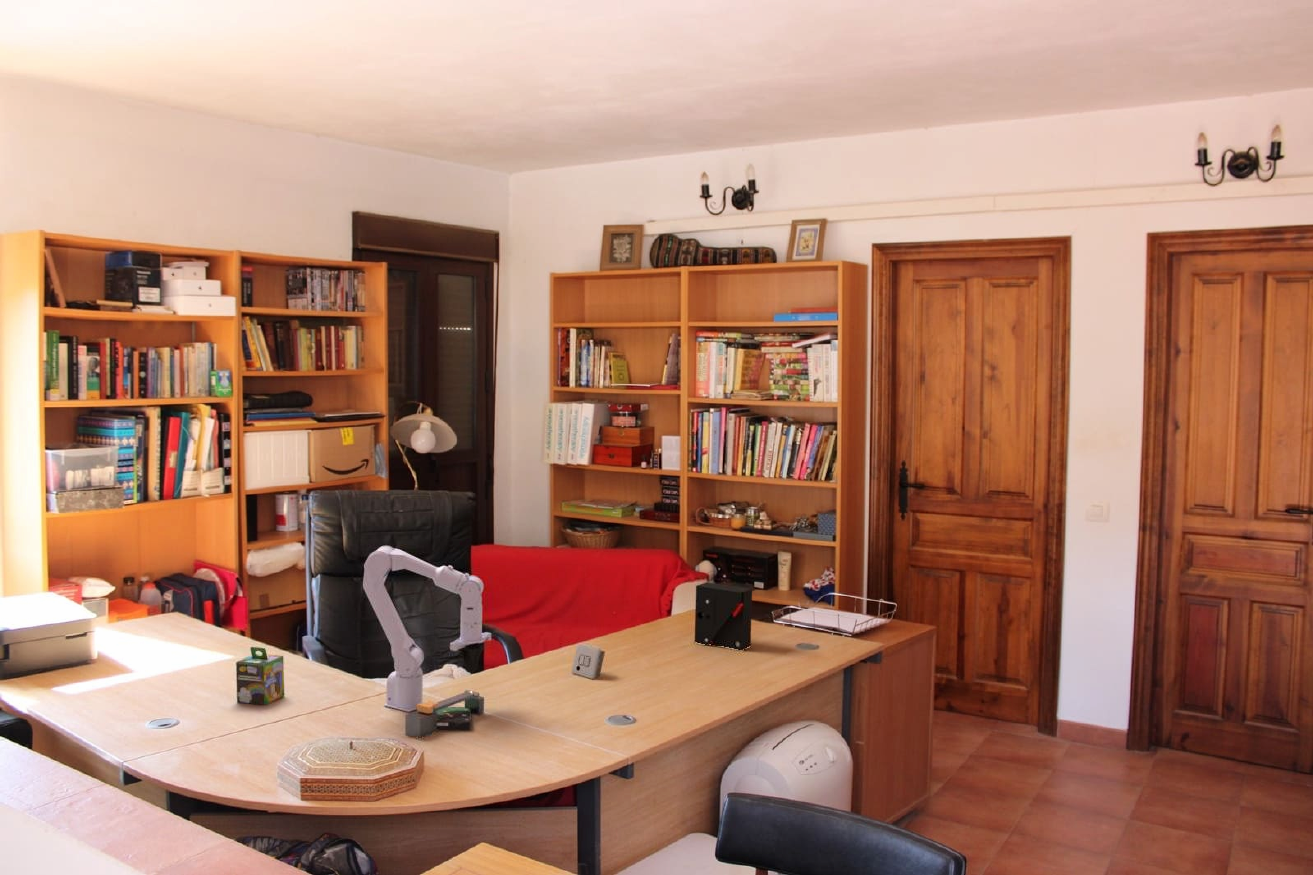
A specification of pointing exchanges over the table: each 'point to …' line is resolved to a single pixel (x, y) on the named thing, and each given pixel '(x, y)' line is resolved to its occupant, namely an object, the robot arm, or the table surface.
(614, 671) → the table surface
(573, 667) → the electrical switch
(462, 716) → the disk drive
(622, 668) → the table surface
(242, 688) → the chalk box
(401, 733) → the table surface
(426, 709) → the orange stepped block
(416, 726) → the shiny metal block
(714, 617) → the electrical component
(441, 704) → the grey flat bar
